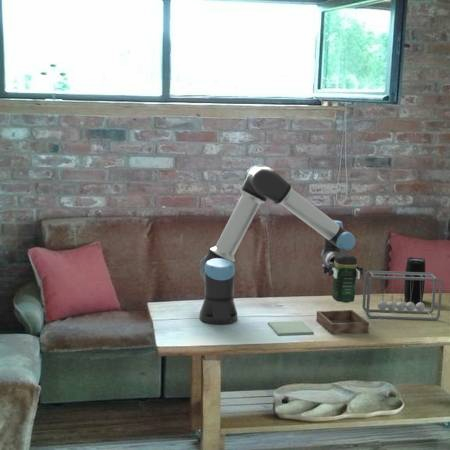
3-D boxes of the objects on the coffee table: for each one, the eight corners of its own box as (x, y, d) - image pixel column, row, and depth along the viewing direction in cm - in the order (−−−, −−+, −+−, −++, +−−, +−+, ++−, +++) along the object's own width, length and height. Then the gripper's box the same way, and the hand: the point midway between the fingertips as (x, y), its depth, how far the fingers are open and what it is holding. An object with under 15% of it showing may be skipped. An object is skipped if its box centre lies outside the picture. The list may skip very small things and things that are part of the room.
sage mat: (277, 335, 259) (277, 333, 259) (267, 323, 273) (267, 322, 273) (313, 333, 262) (313, 331, 262) (301, 322, 276) (302, 320, 276)
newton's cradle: (433, 313, 293) (436, 272, 290) (440, 321, 283) (443, 278, 280) (361, 311, 294) (364, 270, 291) (366, 318, 284) (368, 276, 281)
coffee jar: (356, 303, 266) (360, 256, 263) (336, 303, 265) (339, 255, 262) (349, 296, 275) (352, 250, 272) (329, 296, 274) (332, 250, 271)
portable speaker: (423, 299, 315) (426, 257, 311) (422, 305, 306) (426, 261, 302) (403, 297, 317) (406, 255, 314) (402, 303, 308) (406, 259, 305)
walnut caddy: (331, 334, 262) (331, 324, 261) (316, 320, 279) (316, 311, 278) (368, 332, 265) (369, 322, 265) (351, 319, 282) (352, 309, 281)
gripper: (360, 271, 287) (374, 285, 265) (310, 270, 286) (319, 284, 264) (361, 253, 286) (375, 266, 263) (311, 252, 285) (320, 264, 263)
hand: (347, 275), depth 264 cm, fingers closed on coffee jar, 8 cm apart
